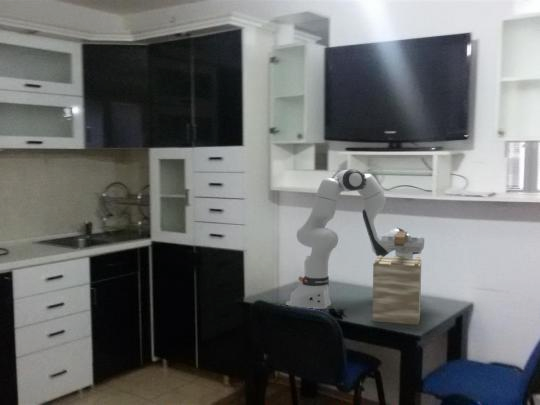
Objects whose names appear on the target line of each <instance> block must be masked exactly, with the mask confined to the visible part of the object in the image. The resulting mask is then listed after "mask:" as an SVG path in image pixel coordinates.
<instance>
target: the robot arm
mask: <svg viewBox="0 0 540 405" xmlns="http://www.w3.org/2000/svg"><path fill="white" fill-rule="evenodd" d="M355 191H357V192H358V194H359V196H360V198H361V199H362V202H363V210H362V219H363V221H364V226H365V228H366V231H367V234H368V238H369V241H370V242H369V243H370V246H371V250H372V252H373V253H374V255H375V256H377V257H378V256H379V255H382V258H385V257H386V256H387V255H389V254H390V253H392V252H393V251H394V252H395V256H402V257H404V259H414V255H420V254H422V251H423V250H424V247H425V237H419V236H410V234H407V235H406V239H407V241H406V243H405V245H404V246H395V236H396V234H397V233H398V231H403V232H406V231H405V230H404V229H402V228H400V227H395V228H392V229H391V230H389V231H387V232H386V233H384V234H382V235H380V236H378V233H377V231H376V228H375V222H374V221H375V218H376V217H377V215H379V213H380V212H381V211H382V210H383V208H384V207H385V205H386V201H387V198H386V195H385V193H384V190H383V189H382V186H381V185H380V183H379V182H378V180H377V179H376V178H375V177H374V175H373V174H371V173H363V172H361V171H360V170H358V169H355V168H351V169H349V168H348V169H342V170H339V171H337V172H336V173H335V174H334V175H333V176H332V177H325V178H323V179H322V181H321V182H320V184H319V186H318V189H317V192H316V194H315V199H314V203H313V207H312V209H311V212H310V214H309V217H308V218H307V220H306V221H305V223H304V224H303V225H302V226H300V227H299V228H298V229H297V231H296V239H297V241H298V243H299V244H301V245H303V246H305V247H308V248H311V253H310V255H309V256H310V257H309V258H307V257H306V258H307V260H306V259H305V260H306V275H305V277H302V276H299V277H298V279H297V280H298V281H300V282H302V283H301V284H300V285H299V286H298V287H296V288H295V289H294V290H293V291H291V294H290V298H289V300H287V301H286V302H285V306H286V305H291V306H299V307H307V308H313V309H312V310H325V309H328V307H330V306H331V305H332V302H331V300H330V294H329V292H330V291H329V286H330V284H329V283H330V282H329V281H330V280H329V259H330V256H331V254H332V252H333V250H334V249H335V248H337V245H338V242H339V236H338V233H337V232H335V230H333V229H330V228H328V227H326V225H327V224H328V223H329V222H330V221H331V220H333V219H334V218H335V217H334V216H335V214H336V210H337V205H338V201H339V198H340V195H341V193H343V192H348V193H349V192H355ZM384 195H385V196H384Z"/></svg>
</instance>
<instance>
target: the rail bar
mask: <svg viewBox="0 0 540 405" xmlns="http://www.w3.org/2000/svg"><path fill="white" fill-rule="evenodd" d="M406 235H408V231H405V232H403V231H398V233H397V234H396V236H395V246H404V245H405V243H406V241H407V239H406Z"/></svg>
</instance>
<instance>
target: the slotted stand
mask: <svg viewBox="0 0 540 405" xmlns="http://www.w3.org/2000/svg"><path fill="white" fill-rule="evenodd" d="M372 265H373V266H372V269H373V270H372V316H371V317H372V322H380V323H381V322H383V323H395V324H404V325H405V324H406V325H407V324H408V325H414V326H415V325H416V326H417V325H418V326H419V324H420V318H421V301H422V300H421V297H422V296H421V294H422V293H421V291H422V290H421V289H422V288H421V287H422V259H421V258H420V257H419V256H417V257H415V258H413V259H404V257H402V256H396V255H394V256H393V257H382V255H379V256H377V257H376V259H375V260H374V262H373V263H372Z"/></svg>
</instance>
